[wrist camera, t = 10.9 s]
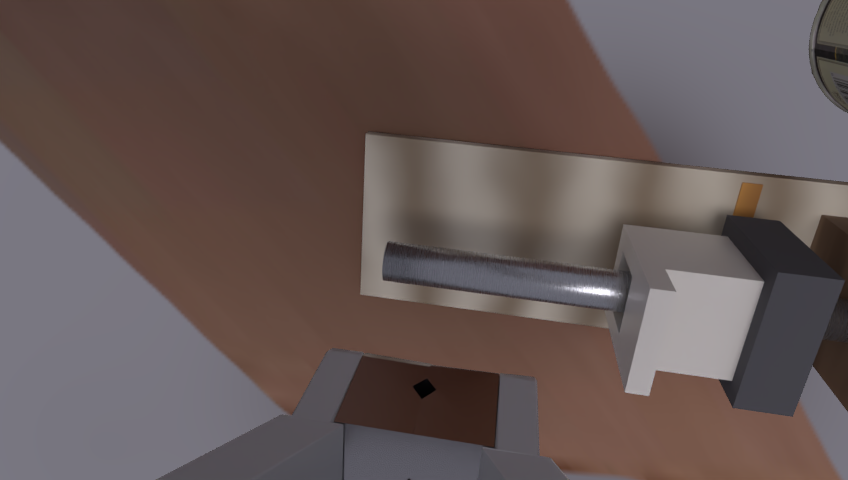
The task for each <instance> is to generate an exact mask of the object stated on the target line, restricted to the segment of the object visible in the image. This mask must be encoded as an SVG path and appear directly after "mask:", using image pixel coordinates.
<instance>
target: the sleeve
mask: <svg viewBox="0 0 848 480" xmlns="http://www.w3.org/2000/svg"><path fill="white" fill-rule="evenodd" d="M614 269H615V270H623V271H630V272H631V275H632V281H631V285H630V289H629V294H628V298H627V302H626V307H625V311H624V313H622V312H614V311H607V310H605V314H606V318H607V322H608V326H609V331H610V335H611V339H612V343H613V347H614V351H615V355H616V359H617V363H618V367H619V371H620V375H621V379H622V383H623V387H624V391H625V393H632V394H639V395H646V396H649V394H650V390H651V386H652V382H653V379H654V375H655V371H656V370H659V371H666V372H673V373H680V374H687V375H694V376H701V377H708V378H715V379H722V380H729V381H732V379H733V376H734V373H735V370H736V367H737V364H738V361H739V358H740V355H741V352H742V349H743V346H744V343H745V340H746V337H747V334H748V331H749V327H750V324H751V321H752V318H753V315H754V312H755V309H756V306H757V303H758V300H759V297H760V294H761V291H762V288H763V285H764V280H763V279H762V278H761V277H760V276H759V274H758V273H757V272H756V271H755V269H754V268H753V267H752V266H751V264H750V263H749V262H748V261H747V260H746V258H745V257H744V256H743V255H742V253H741V252H740V251H739V250H738V248H737V247H736V246H735V245H734V244H733V242H732V241H731V240H730V239H729V237H728V236H720V235H711V234H703V233H694V232H686V231H677V230H669V229H660V228H652V227H643V226H635V225H626V224H623V229H622V233H621V238H620V243H619V247H618V252H617V257H616V261H615V266H614Z"/></svg>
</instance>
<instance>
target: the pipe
mask: <svg viewBox="0 0 848 480" xmlns="http://www.w3.org/2000/svg"><path fill="white" fill-rule="evenodd" d="M382 278H383V281H390V282H397V283H405V284H412V285H420V286H427V287H435V288H442V289H450V290H457V291H465V292H472V293H480V294H487V295H495V296H502V297H509V298H517V299H524V300H532V301H539V302H547V303H554V304H562V305H569V306H577V307H584V308H592V309H599V310H607V311H614V312H622V313H624V311H625V307H626V302H627V298H628V294H629V289H630V285H631V281H632V275H631V272H630V271H623V270H615V269H607V268H599V267H591V266H584V265H576V264H568V263H560V262H552V261H544V260H536V259H528V258H520V257H512V256H504V255H496V254H488V253H481V252H473V251H465V250H457V249H449V248H441V247H433V246H425V245H417V244H409V243H401V242H393V241H388V242H387V245H386V248H385V252H384V257H383V265H382ZM823 340H831V341H838V342H846V343H848V299H845V298H838V300H837V303H836V305H835V308H834V311H833V313H832V316H831V318H830V321H829V324H828V326H827V329H826V331H825V334H824V336H823Z"/></svg>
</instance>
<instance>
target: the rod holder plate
mask: <svg viewBox="0 0 848 480" xmlns="http://www.w3.org/2000/svg"><path fill="white" fill-rule="evenodd" d="M727 215H733V216H742V217H751V218H760V219H768V220H777V221H781V222H782V223H783V224H784V225H785V226H786V227H787V228H788V229H789V230H790V231H792V232H793V233H794V234H795V235H796V236H797V237H798V238H799V239H800V240H801V241H802V242H804V243H805V244H806V245H807V246H808V247H809V248H810V249H811V250H812V251H813V252H814V253H816V254H817V255H818V256H819V257H820V258H821V259H822V260H823V261H824V262H825V263H826V264H828V265H829V266H830V267H831V268H832V269H833V270H834V271H835V272H836V273H837V274H838V275H840V276H841V277H842V278H843V279H844V280H845V282H844V285H843V287H842V290H841V292H840V295H839V298H845V299H848V182H841V181H831V180H822V179H812V178H803V177H794V176H784V175H774V174H765V173H756V172H747V171H737V170H728V169H718V168H709V167H699V166H690V165H680V164H671V163H662V162H652V161H643V160H633V159H624V158H614V157H605V156H595V155H586V154H577V153H567V152H558V151H548V150H539V149H529V148H520V147H511V146H501V145H492V144H482V143H473V142H463V141H454V140H444V139H435V138H426V137H416V136H407V135H397V134H388V133H378V132H369V131H368V132H367V133H366V138H365V169H364V200H363V230H362V261H361V292H360V294H361V295H368V296H375V297H383V298H390V299H397V300H404V301H412V302H419V303H426V304H434V305H441V306H448V307H455V308H463V309H470V310H477V311H485V312H492V313H499V314H507V315H514V316H521V317H528V318H536V319H543V320H550V321H558V322H565V323H572V324H580V325H587V326H594V327H601V328H609V326H608V322H607V318H606V314H605V310H599V309H592V308H584V307H577V306H569V305H562V304H554V303H547V302H539V301H532V300H524V299H517V298H509V297H502V296H495V295H487V294H480V293H472V292H465V291H457V290H450V289H442V288H435V287H427V286H420V285H412V284H405V283H397V282H390V281H383V278H382V265H383V257H384V252H385V248H386V245H387V242H388V241H393V242H401V243H409V244H417V245H425V246H433V247H441V248H449V249H457V250H465V251H473V252H481V253H488V254H496V255H504V256H512V257H520V258H528V259H536V260H544V261H552V262H560V263H568V264H576V265H584V266H591V267H599V268H607V269H614V266H615V261H616V257H617V252H618V247H619V243H620V238H621V233H622V229H623V224H626V225H635V226H643V227H652V228H660V229H669V230H677V231H686V232H694V233H703V234H711V235H720V236H721V234H722V231H723V227H724V224H725V220H726V217H727ZM813 367H814V368H815V369H816V370H817V372H818V373H819V374H820V376H821V377H822V378H823V380H824V381H825V382H826V384H827V385H828V386H829V387H830V389H831V390H832V391H833V393H834V394H835V395H836V397H837V398H838V399H839V401H840V402H841V403H842V405H843V406H844V407H845V409H846V410H847V411H848V343H846V342H838V341H831V340H823V339H822V342H821V344H820V347H819V349H818V352H817V355H816V357H815V360H814V362H813Z"/></svg>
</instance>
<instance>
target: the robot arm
mask: <svg viewBox="0 0 848 480" xmlns="http://www.w3.org/2000/svg"><path fill="white" fill-rule="evenodd" d="M156 480H569V479H568V478H567V476H566V475H565V474H564V473H563V472H562V471H561V470H560V468H559V467H558V466H557V465H556V464H555V463H554V461H553V460H552V459H551V458H548V457H542V456H539V427H538V398H537V380H536V379H535V378H534V377H530V376H521V375H512V374H503V373H500V375H499V374H498V373H490V372H482V371H474V370H467V369H459V368H451V367H444V366H436V365H432V364H429V363H423V362H417V361H411V360H405V359H399V358H393V357H387V356H381V355H375V354H369V353H365V354H364V353H363V352H357V351H350V350H343V349H336V348H332V349H330V350H329V351H327V352H326V354H325V356H324V358H323V360H322V361H321V363H320V365H319V367H318V369H317V370H316V372H315V374H314V376H313V378H312V380H311V381H310V383H309V385H308V387H307V389H306V390H305V392H304V394H303V396H302V398H301V400H300V401H299V403H298V405H297V407H296V409H295V410H294V412H293V414H292V416H288V415H279V416H278V417H276V418H274V419H272V420H270V421H268V422H266V423H264V424H262V425H260V426H258V427H256V428H254V429H253V430H251V431H249V432H247V433H245V434H243V435H241V436H239V437H237V438H235V439H233V440H231V441H230V442H228V443H226V444H224V445H222V446H220V447H218V448H216V449H215V450H212V451H210V452H208V453H206V454H205V455H203V456H201V457H199V458H197V459H195V460H193V461H191V462H189V463H187V464H185V465H183V466H181V467H179V468H178V469H176V470H174V471H172V472H170V473H168V474H166V475H164V476H162V477H160V478H159V479H156Z"/></svg>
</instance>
